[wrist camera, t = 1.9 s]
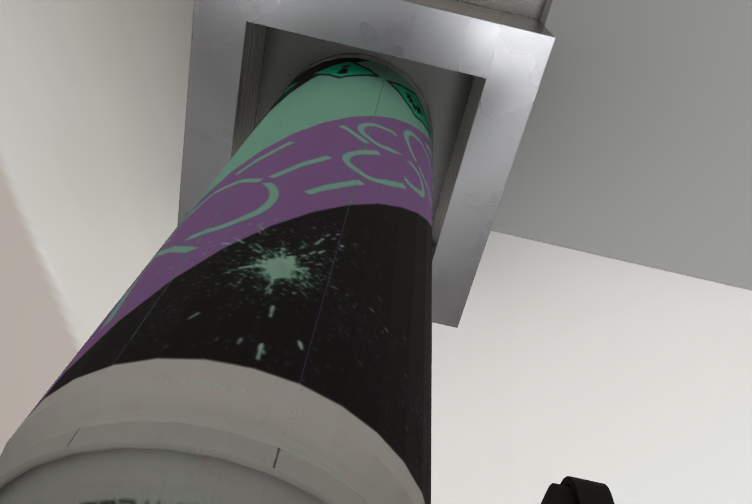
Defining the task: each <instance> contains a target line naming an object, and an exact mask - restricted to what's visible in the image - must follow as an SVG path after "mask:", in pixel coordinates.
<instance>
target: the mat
mask: <svg viewBox="0 0 752 504" xmlns="http://www.w3.org/2000/svg"><path fill="white" fill-rule="evenodd" d="M540 21H541V22H542V23H543V25H544V26H545V27H546V28H547V29H548V30H549V31H550V32H551V33H552V35H553V36H554V37H555V40H554V43H553V46H552V49H551V52H550V55H549V58H548V61H547V64H546V67H545V70H544V73H543V76H542V78H541V81H540V84H539V87H538V90H537V93H536V96H535V99H534V102H533V105H532V108H531V111H530V114H529V117H528V120H527V123H526V126H525V129H524V132H523V135H522V138H521V141H520V144H519V147H518V150H517V152H516V155H515V158H514V161H513V164H512V167H511V170H510V173H509V176H508V179H507V182H506V185H505V188H504V191H503V194H502V197H501V200H500V203H499V206H498V209H497V212H496V215H495V218H494V221H493V224H492V226H491V229H490V230H491V231H496V232H500V233H504V234H509V235H513V236H517V237H522V238H526V239H530V240H535V241H539V242H543V243H548V244H552V245H556V246H561V247H565V248H569V249H574V250H578V251H583V252H587V253H591V254H596V255H600V256H604V257H609V258H613V259H617V260H622V261H626V262H630V263H635V264H639V265H643V266H648V267H652V268H656V269H661V270H665V271H669V272H674V273H678V274H682V275H687V276H691V277H695V278H700V279H704V280H708V281H713V282H717V283H721V284H726V285H730V286H734V287H739V288H743V289H747V290H752V0H546V3H545V6H544V9H543V12H542V15H541V18H540Z"/></svg>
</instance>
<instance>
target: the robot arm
mask: <svg viewBox="0 0 752 504" xmlns="http://www.w3.org/2000/svg"><path fill="white" fill-rule="evenodd" d="M541 504H614V501H613V498H612V495H611V492H610V490H609V488H608V487H607V486H606V485H605V484H603V483H598V482H593V481H589V480H584V479H579V478H575V477H570V476H567V477H565V478H564V479H563V481H562V482H561V484H555V483H552V484H551V485H550V486H549V488H548V490H547V492H546V494H545V496H544V498H543V500H542V502H541Z"/></svg>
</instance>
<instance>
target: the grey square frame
mask: <svg viewBox="0 0 752 504" xmlns="http://www.w3.org/2000/svg"><path fill="white" fill-rule="evenodd" d="M267 26H268V27H273V28H277V29H281V30H285V31H289V32H294V33H298V34H302V35H306V36H310V37H315V38H319V39H323V40H327V41H331V42H336V43H340V44H344V45H348V46H352V47H357V48H361V49H365V50H369V51H373V52H378V53H382V54H386V55H390V56H394V57H399V58H403V59H407V60H411V61H415V62H420V63H424V64H428V65H432V66H436V67H440V68H445V69H449V70H453V71H457V72H461V73H466V74H470V75H474V80H473V83H472V87H471V90H470V94H469V97H468V101H467V104H466V108H465V111H464V114H463V118H462V121H461V125H460V128H459V132H458V135H457V139H456V142H455V146H454V149H453V153H452V156H451V160H450V163H449V167H448V170H447V174H446V177H445V181H444V184H443V188H442V191H441V194H440V198H439V201H438V205H437V208H436V212H435V215H434V219H433V222H432V322H434V323H438V324H443V325H447V326H452V327H456V328H457V327H458V324H459V321H460V318H461V315H462V312H463V309H464V306H465V303H466V300H467V298H468V295H469V292H470V289H471V286H472V283H473V280H474V277H475V274H476V271H477V268H478V265H479V262H480V259H481V256H482V253H483V250H484V247H485V244H486V241H487V238H488V235H489V232H490V229H491V226H492V224H493V221H494V218H495V215H496V212H497V209H498V206H499V203H500V200H501V197H502V194H503V191H504V188H505V185H506V182H507V179H508V176H509V173H510V170H511V167H512V164H513V161H514V158H515V155H516V152H517V150H518V147H519V144H520V141H521V138H522V135H523V132H524V129H525V126H526V123H527V120H528V117H529V114H530V111H531V108H532V105H533V102H534V99H535V96H536V93H537V90H538V87H539V84H540V81H541V78H542V76H543V73H544V70H545V67H546V64H547V61H548V58H549V55H550V52H551V49H552V46H553V43H554V40H555V37H554V36H553V35H552V33H551V32H550V31H549V30H548V29H547V28H546V27H545V26H544V25H543V23H542V22H541V21H540V20H536V19H532V18H528V17H524V16H520V15H515V14H511V13H507V12H503V11H499V10H495V9H491V8H486V7H482V6H478V5H474V4H470V3H466V2H462V1H458V0H195V1H194V14H193V28H192V41H191V54H190V67H189V80H188V94H187V107H186V120H185V133H184V147H183V160H182V173H181V186H180V199H179V213H178V225H179V224H180V223H181V222H182V220H183V219H184V218H185V217H186V215H187V214H188V213H189V212H190V210H191V209H192V208H193V207H194V205H195V204H196V203H197V201H198V200H199V199H200V198H201V196H202V195H203V194H204V193H205V191H206V190H207V189H208V188H209V186H210V185H211V184H212V182H213V181H214V180H215V179H216V177H217V176H218V175H219V174H220V172H221V171H222V170H223V169H224V167H225V166H226V165H227V163H228V162H229V161H230V160H231V158H232V157H233V156H234V155H235V153H236V152H237V151H238V150H239V148H240V147H241V146H242V145H243V143H244V142H245V141H246V139H247V138H248V137H249V136H250V134H251V133H252V132H253V131H254V124H255V117H256V109H257V101H258V93H259V86H260V78H261V70H262V62H263V55H264V47H265V39H266V31H267ZM177 227H178V226H177Z"/></svg>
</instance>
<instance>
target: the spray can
mask: <svg viewBox="0 0 752 504" xmlns="http://www.w3.org/2000/svg"><path fill="white" fill-rule="evenodd" d="M432 161H433V128H432V123H431V118H430V113H429V109H428V107H427V104H426V102H425V100H424V97H423V95H422V94H421V92H420V91H419V89H418V88H417V87H416V85H415V84H414V82H413V81H412V80H411V79H409V78H408V77H407V76H406V75H405V74H404V73H403V72H402V71H401V70H399V69H398V68H396V67H395V66H393V65H391V64H390V63H388V62H385V61H383V60H380V59H378V58H375V57H371V56H366V55H360V54H342V55H338V56H333V57H329V58H326V59H323V60H321V61H319V62H317V63H315V64H313V65H311V66H310V67H309V68H307V69H306V70H305V71H303V72H302V73H301V74H300V75H298V76H297V77H296V78H295V80H294V81H293V82H292V83H291V84H290V85H289V86H288V88H287V89H286V90H285V91H284V93H283V94H282V95H281V96H280V98H279V99H278V100H277V101H276V103H275V104H274V105H273V107H272V108H271V109H270V110H269V112H268V113H267V114H266V115H265V117H264V118H263V119H262V120H261V122H260V123H259V124H258V126H257V127H256V128H255V129H254V131H253V132H252V133H251V134H250V136H249V137H248V138H247V139H246V141H245V142H244V143H243V145H242V146H241V147H240V148H239V150H238V151H237V152H236V153H235V155H234V156H233V157H232V158H231V160H230V161H229V162H228V163H227V165H226V166H225V167H224V169H223V170H222V171H221V172H220V174H219V175H218V176H217V177H216V179H215V180H214V181H213V182H212V184H211V185H210V186H209V188H208V189H207V190H206V191H205V193H204V194H203V195H202V196H201V198H200V199H199V200H198V201H197V203H196V204H195V205H194V207H193V208H192V209H191V210H190V212H189V213H188V214H187V215H186V217H185V218H184V219H183V220H182V222H181V223H180V224H179V225H178V227H177V228H176V229H175V231H174V232H173V233H172V234H171V236H170V237H169V238H168V239H167V241H166V242H165V243H164V244H163V246H162V247H161V248H160V250H159V251H158V252H157V253H156V255H155V256H154V257H153V258H152V260H151V261H150V262H149V263H148V265H147V266H146V267H145V269H144V270H143V271H142V272H141V274H140V275H139V276H138V277H137V279H136V280H135V281H134V282H133V284H132V285H131V286H130V287H129V289H128V290H127V291H126V293H125V294H124V295H123V296H122V298H121V299H120V300H119V301H118V303H117V304H116V305H115V306H114V308H113V309H112V310H111V312H110V313H109V314H108V315H107V317H106V318H105V319H104V320H103V322H102V323H101V324H100V325H99V327H98V328H97V329H96V331H95V332H94V333H93V334H92V336H91V337H90V338H89V339H88V341H87V342H86V343H85V344H84V346H83V347H82V348H81V349H80V351H79V352H78V353H77V355H76V356H75V357H74V358H73V360H72V361H71V362H70V363H69V365H68V366H67V367H66V369H65V370H64V371H63V372H62V374H61V375H60V376H59V377H58V379H57V380H56V381H55V383H54V384H53V385H52V386H51V387H50V389H49V390H48V391H47V393H46V394H45V395H44V397H43V398H42V399H41V400H40V401H39V403H38V404H37V405H36V406H35V408H34V409H33V410H32V411H31V413H30V414H29V415H28V417H27V418H26V419H25V421H24V422H23V423H22V424H21V425H20V427H19V428H18V429H17V431H16V432H15V433H14V434H13V436H12V437H11V438H10V439H9V441H8V442H7V443H6V446H5V448H4V450H3V452H2V454H1V456H0V504H431V363H432Z"/></svg>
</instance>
